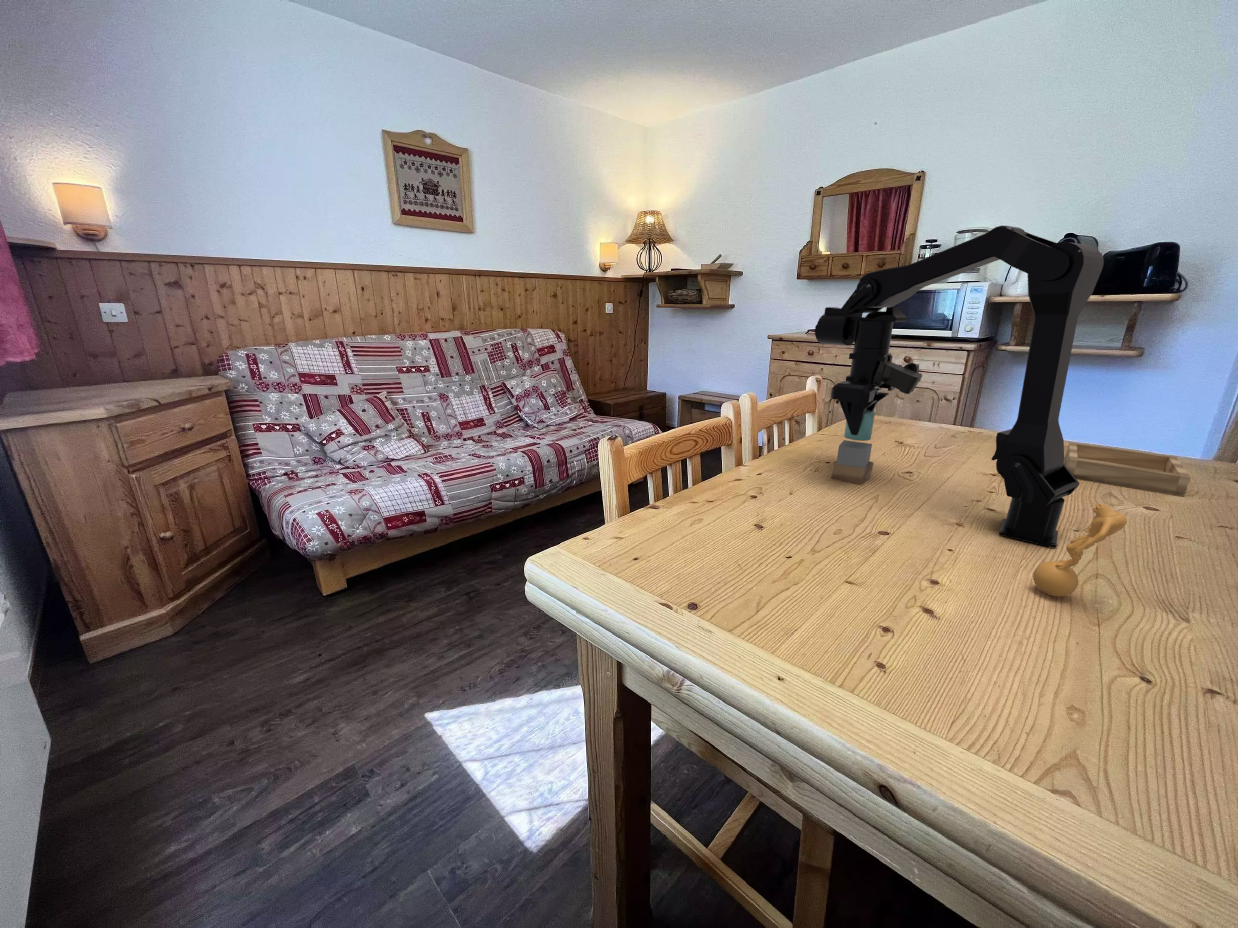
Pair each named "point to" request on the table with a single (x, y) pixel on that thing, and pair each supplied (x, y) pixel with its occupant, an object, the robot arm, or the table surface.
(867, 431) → the teal cylinder
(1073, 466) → the tray
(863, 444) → the block upper
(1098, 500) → the table surface
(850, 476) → the block lower
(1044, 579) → the figurine
